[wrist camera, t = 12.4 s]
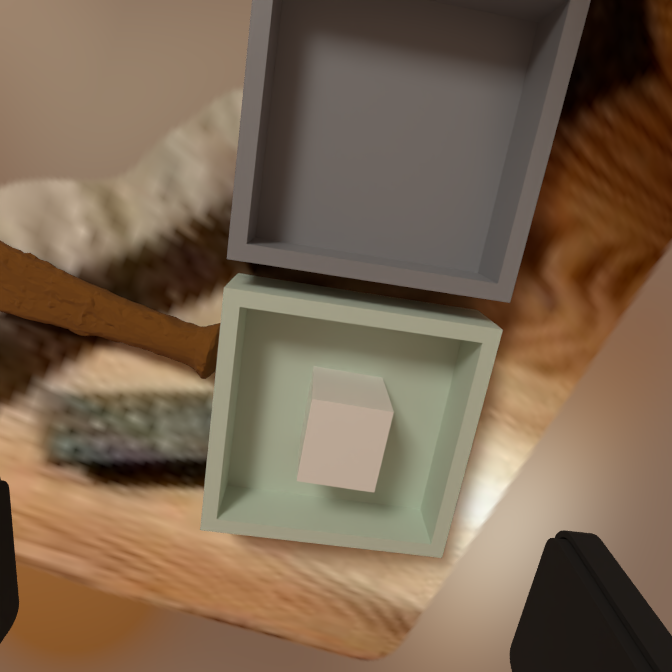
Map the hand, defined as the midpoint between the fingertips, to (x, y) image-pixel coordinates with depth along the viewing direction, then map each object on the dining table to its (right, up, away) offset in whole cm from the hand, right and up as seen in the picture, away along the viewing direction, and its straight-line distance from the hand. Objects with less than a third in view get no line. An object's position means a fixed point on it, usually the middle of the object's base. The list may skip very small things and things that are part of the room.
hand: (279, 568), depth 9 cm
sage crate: (+1, 0, +24) cm, 24 cm away
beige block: (+1, -1, +23) cm, 23 cm away
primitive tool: (-15, +6, +22) cm, 28 cm away
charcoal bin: (+4, +15, +19) cm, 25 cm away
